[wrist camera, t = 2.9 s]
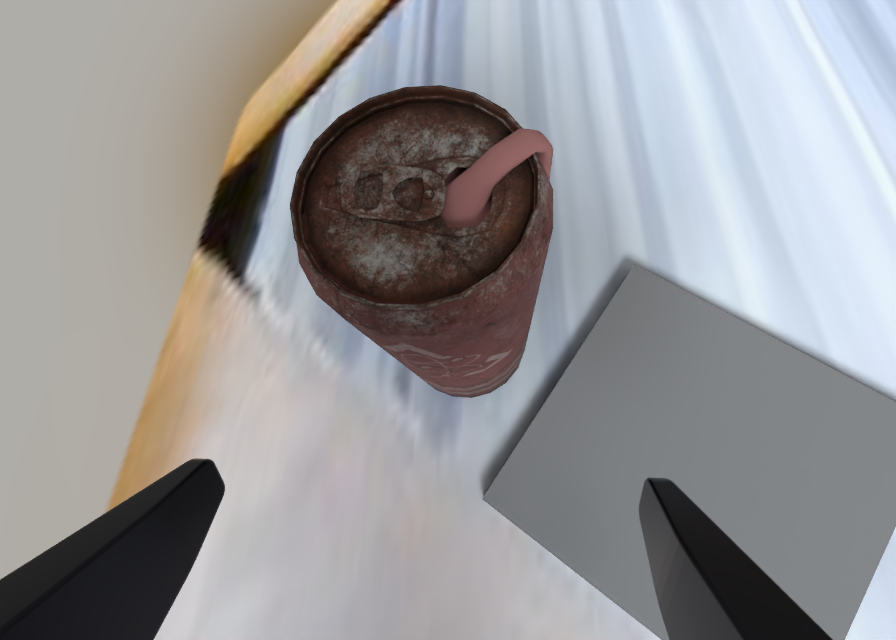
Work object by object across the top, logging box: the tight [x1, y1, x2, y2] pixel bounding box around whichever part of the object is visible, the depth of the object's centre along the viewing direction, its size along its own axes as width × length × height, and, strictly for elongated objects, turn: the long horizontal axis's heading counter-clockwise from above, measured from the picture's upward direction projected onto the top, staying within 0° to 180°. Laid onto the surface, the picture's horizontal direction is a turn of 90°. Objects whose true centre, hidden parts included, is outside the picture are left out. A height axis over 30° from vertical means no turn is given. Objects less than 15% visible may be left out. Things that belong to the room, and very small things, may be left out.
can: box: [290, 85, 553, 398], centre depth 15 cm, size 6×6×14 cm
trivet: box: [483, 264, 896, 640], centre depth 18 cm, size 14×14×1 cm
